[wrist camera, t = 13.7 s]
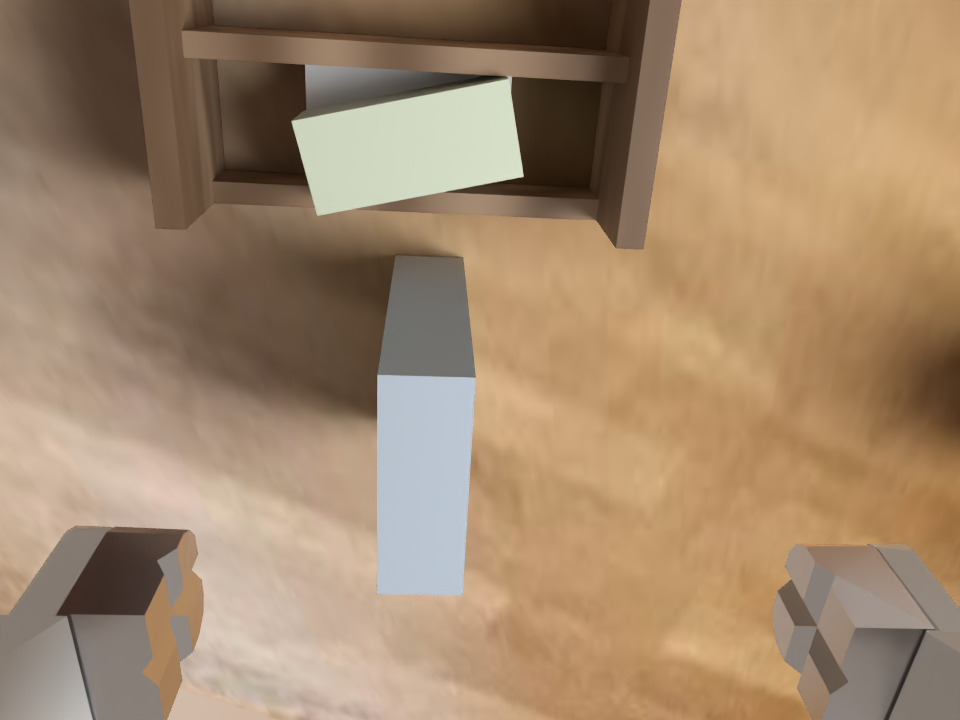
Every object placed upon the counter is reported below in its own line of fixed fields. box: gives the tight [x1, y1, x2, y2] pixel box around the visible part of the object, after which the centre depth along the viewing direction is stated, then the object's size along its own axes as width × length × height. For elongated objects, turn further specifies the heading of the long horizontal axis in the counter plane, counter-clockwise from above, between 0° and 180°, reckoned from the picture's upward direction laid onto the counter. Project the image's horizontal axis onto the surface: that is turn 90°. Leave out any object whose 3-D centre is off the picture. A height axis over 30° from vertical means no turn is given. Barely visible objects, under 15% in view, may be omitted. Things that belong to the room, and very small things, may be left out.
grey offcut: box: [305, 65, 512, 110], centre depth 36 cm, size 9×4×3 cm, turn 87°
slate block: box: [377, 255, 476, 595], centre depth 36 cm, size 4×10×14 cm, turn 177°
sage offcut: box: [292, 75, 524, 216], centre depth 34 cm, size 9×4×3 cm, turn 100°
